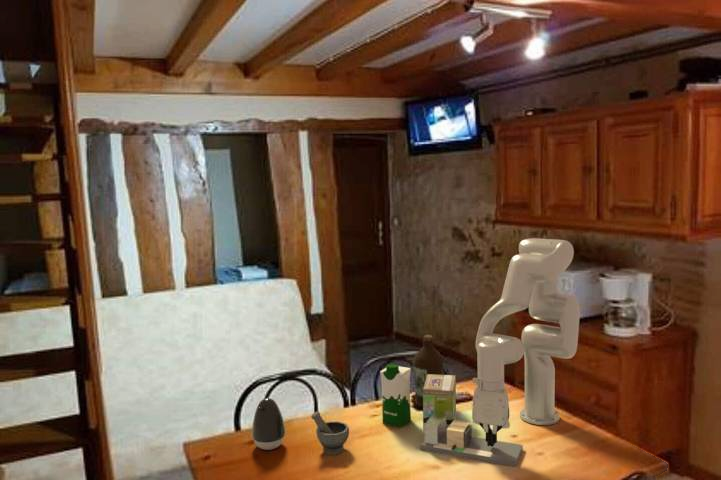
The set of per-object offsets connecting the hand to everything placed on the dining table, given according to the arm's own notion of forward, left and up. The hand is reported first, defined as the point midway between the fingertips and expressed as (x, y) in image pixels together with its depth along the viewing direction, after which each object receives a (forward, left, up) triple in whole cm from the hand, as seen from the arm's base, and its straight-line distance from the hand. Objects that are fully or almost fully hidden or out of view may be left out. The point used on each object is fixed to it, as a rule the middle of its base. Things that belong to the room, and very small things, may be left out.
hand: (491, 444), depth 173 cm
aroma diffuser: (+21, -64, -3) cm, 67 cm away
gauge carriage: (+1, -9, -1) cm, 10 cm away
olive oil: (-28, -29, -3) cm, 41 cm away
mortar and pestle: (+16, -45, -3) cm, 48 cm away
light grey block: (0, -17, -1) cm, 17 cm away
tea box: (-13, -20, -3) cm, 24 cm away
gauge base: (0, -6, -3) cm, 7 cm away
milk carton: (-10, -34, -3) cm, 36 cm away
